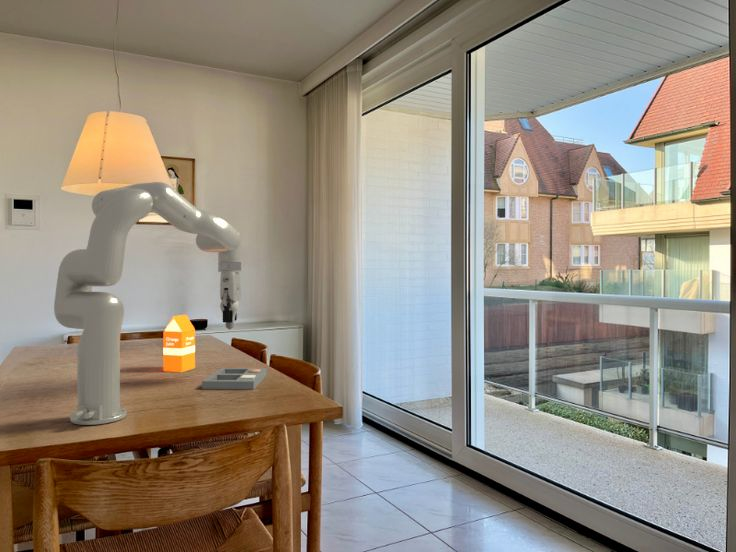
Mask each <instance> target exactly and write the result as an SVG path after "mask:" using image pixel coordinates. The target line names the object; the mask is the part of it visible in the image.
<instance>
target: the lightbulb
mask: <svg viewBox="0 0 736 552" xmlns="http://www.w3.org/2000/svg"><path fill="white" fill-rule="evenodd" d="M227 301H230V299H227ZM229 306H230V303H229ZM219 308H220V311H221V313H222V314H223V302H222V301H221V302H220V305H219ZM239 309H240V303H239V300H238V301H233V300H232V310H233V322H231V323H225V328H226V329H227V330H232V329H233V328H234V326H235V324H234V323H235V321H234V320H235V315H236V313H238V311H239Z"/></svg>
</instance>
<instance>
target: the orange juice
mask: <svg viewBox="0 0 736 552" xmlns="http://www.w3.org/2000/svg"><path fill="white" fill-rule="evenodd" d="M162 337H163V342H162V343H163V349H162V353H163V359H162V361H163V363H162V364H163V372H172V373H173V372H174V373H183V372H186V371H189V370H193V369H195V368H196V329H195V326H194V325H193V324H192V322H191V321H190V319H189V317H188V315H187V314H180V315H173V316H172V317H171V319H170V321H169V322H168V324H167V325H166V327H165V329H164V330H163V336H162Z"/></svg>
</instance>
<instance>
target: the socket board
mask: <svg viewBox="0 0 736 552" xmlns="http://www.w3.org/2000/svg"><path fill="white" fill-rule="evenodd" d="M267 375H268V374H267V367H220V368H219V369H218V370H216V371H214V372H213V373H212V374H210V375H209V376H207V377H206V378H205V379H203V380H201V389H202V390H238V391H239V390H241V391H242V390H249V391H250V390H251V391H252V390H255V389H256V388H257V386H258V385H259V384H260V383H261V382H262V381H263V380H264V379H265V378H266V377H267Z"/></svg>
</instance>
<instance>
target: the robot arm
mask: <svg viewBox="0 0 736 552" xmlns="http://www.w3.org/2000/svg"><path fill="white" fill-rule="evenodd" d="M91 210H92V212H93V214H94V215H95V217H94V219H93V221H92V224H91V227H90V231H89V237H88V242H87V246H86V249H85V248H84V249H83V248H82V249H80V248H79V249H75V250H72V251H69V252H68V253H67V254H66V255H65V256H64V257H63V258H62V259H61V261H60V262H61V263H60V265H59V267H58V271H57V272H58V273H57V279H56V280H57V281H56V287H55V296H54V301H53V302H54V303H53V304H54V305H53V313H54V317H55V319H56V320H57V322H58V323H59V324H60V325H61V326H63V327H65V328H69V329H76V330H83V331H82V334H81V336H80V338H79V340H78V343H77V348H76V357H77V359H76V361H77V363H76V365H77V366H76V367H77V368H76V370H77V371H76V372H77V374H76V375H77V378H76V379H77V380H76V381H77V382H76V383H77V387H76V389H77V390H76V391H77V397H76V398H77V405H76V407H77V410H76V411H75V412H72V413H71V414H70V415H69V421H70V422H71V423H72V424H74V425H80V426H94V425H103V424H109V423H115V422H117V421H121V420H123V419H124V418H126V417H127V412H128V411H127V409H125V408H123V407H122V408H121V367H120V366H121V351H120V349H121V346H120V345H121V334H122V333H121V331H122V327H123V321H124V317H125V307H124V304H123V302H122V301H121V299H120V298H119V297H118V296H117V295H115V294H113V293H109V292H105V291H92V290H93V287H101V288H102V287H111V286H114V285H116V284H118V283H119V282H120V280H121V278H122V276H123V275H122V274H123V270H124V263H125V262H124V261H125V252H126V251H125V250H126V243H127V238H128V235H129V232H130V230H131V229H132V227H133V226H134V225H135V224H136V223H138V222H139V221H140V220H142V219H144V218H146V217H147V216H148V215H149V214H150V213H154V214H156V215H158V216H159V217H160V218H162V219H164V221H166V222H168V223H169V224H171V225H172V226H173V227H174V228H175V229H177V230H179V231H182V232H184V233H188V234H193V235H196V237H195V244H196V247H198V249H199V250H200V251H202V252H206V253H217V257H218V258H217V260H218V262H217V265H218V267H217V272H218V273H220V283H219V296H220V297H219V298H220V301H221V302H223V313H222V322H223V323H225V324H226V323H231V322H233V310H232V300H233V301H238V302H239V301H240V300H241V299H242V292H241V279H240V278H241V277H240V273H242V235H241V232H239V231H237V230H236V228H235V227H234V226H233V225H231V224H230V222H228V221H227V220H225V219H223V218H222V217H219V216H218V215H215V214H213V213H211V212H209V211H206V210H204V209H201V208H198V207H196V206H195V205H194V204H193V203H191V202H190V201H189V200H187V198H185V197H184V196H183V195H181V194H180V193H179V192H178V191H177V190H175V188H173V187H172V185H171V186H170V184H168V183H165V182H161V181H160V182H159V181H157V182H155V181H153V182H144V183H143V182H142V183H135V184H130V185H126V186H122V187H117V188H110V189H107V190H106V189H105V190H102V191H100V192H97V194H95V196H94V197H93V198H92V201H91ZM227 299H230V301H227ZM229 303H230V306H229ZM237 313H238V312H237ZM237 313H236V315H235V320H234V322H236V321H237V319H238V314H237Z"/></svg>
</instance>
